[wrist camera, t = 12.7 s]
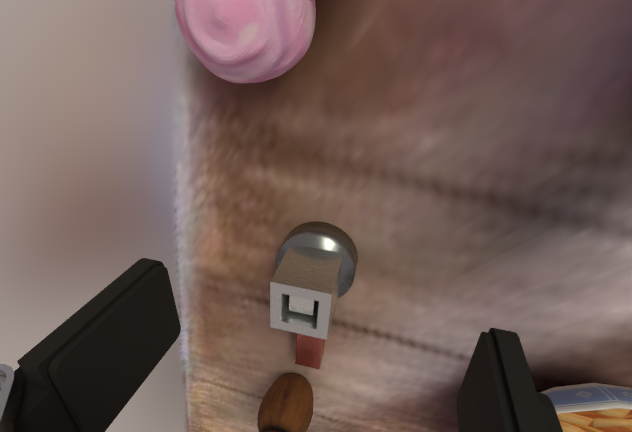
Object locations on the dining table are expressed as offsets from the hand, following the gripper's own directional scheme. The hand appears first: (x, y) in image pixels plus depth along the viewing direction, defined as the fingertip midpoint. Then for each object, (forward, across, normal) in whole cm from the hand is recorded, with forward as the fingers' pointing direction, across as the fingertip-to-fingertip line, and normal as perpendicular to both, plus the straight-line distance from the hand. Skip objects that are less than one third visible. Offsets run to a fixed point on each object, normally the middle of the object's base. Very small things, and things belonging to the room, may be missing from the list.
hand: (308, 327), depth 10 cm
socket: (+20, +5, +14) cm, 24 cm away
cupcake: (+23, +9, -8) cm, 26 cm away
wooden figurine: (+22, +8, +36) cm, 43 cm away
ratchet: (+22, +5, +19) cm, 30 cm away
